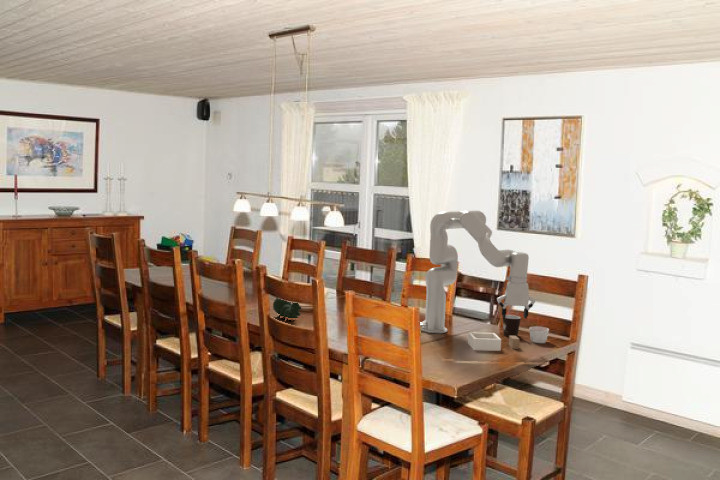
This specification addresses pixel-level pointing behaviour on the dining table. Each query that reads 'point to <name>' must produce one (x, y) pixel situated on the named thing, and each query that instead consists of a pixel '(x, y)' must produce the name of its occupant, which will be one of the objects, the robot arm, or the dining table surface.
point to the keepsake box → (484, 341)
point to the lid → (514, 342)
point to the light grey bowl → (538, 334)
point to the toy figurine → (286, 308)
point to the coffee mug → (511, 325)
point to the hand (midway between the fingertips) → (514, 317)
